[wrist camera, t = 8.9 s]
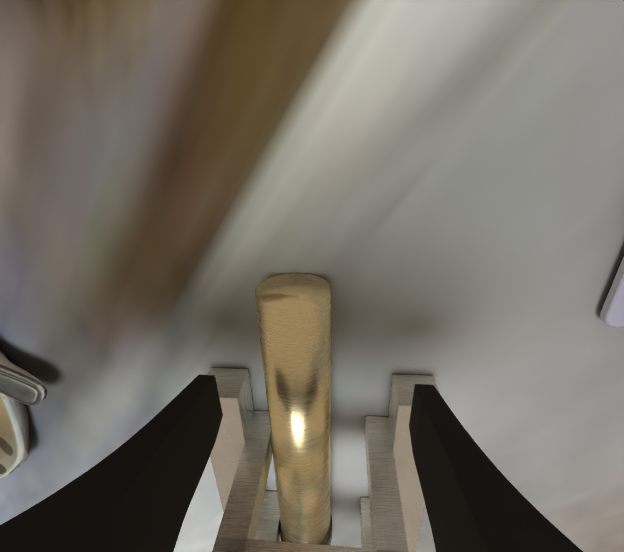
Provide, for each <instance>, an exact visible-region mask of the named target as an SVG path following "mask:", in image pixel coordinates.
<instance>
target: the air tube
mask: <svg viewBox="0 0 624 552" xmlns="http://www.w3.org/2000/svg"><path fill="white" fill-rule="evenodd" d="M256 302H257V311H258V320H259V330H260V339H261V348H262V357H263V366H264V376H265V385H266V394H267V403H268V412H269V421H270V431H271V440H272V449H273V458H274V467H275V477H276V486H277V495H278V504H279V513H280V520H279V529H280V538H281V542H294V543H306V544H319V545H330V543H331V539H332V517H331V513H330V430H331V288H330V285H329V283H328V282H327V281H326V280H324V279H323V278H320V277H318V276H315V275H311V274H305V273H289V274H282V275H277V276H274V277H271V278H269V279H266V280H265V281H263V282H262V283H260V284H259V285H258V287H257V288H256Z"/></svg>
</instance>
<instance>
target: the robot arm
mask: <svg viewBox="0 0 624 552" xmlns="http://www.w3.org/2000/svg"><path fill="white" fill-rule="evenodd" d="M600 318H601V320H602V321H604V322H605V323H606V324H607V325H609V326H612V327H624V257H623V259H622V262H621V264H620V267H619V269H618V271H617V274H616V276H615V279H614V281H613V284H612V286H611V288H610V291H609V293H608V296H607V298H606V301H605V303H604V305H603V308H602V310H601V313H600ZM222 417H223V413H222V408H221V403H220V398H219V393H218V388H217V383H216V378H215V375H198V376H197V377H196V378H195V379H194V380H193V381H192V382H191V383H190V384H189V385H188V386H187V387H186V388H185V389H184V390H183V391H181V392H180V393H179V394H178V395H177V396H176V397H175V398H174V399H173V400H172V401H171V402H170V403H169V404H168V405H167V406H166V407H165V408H164V409H163V410H162V411H160V412H159V413H158V414H157V415H156V416H155V417H154V418H153V419H152V420H151V421H150V422H148V423H147V424H146V425H145V426H144V427H143V428H142V429H140V430H139V431H138V432H137V433H136V434H135V435H133V436H132V437H131V438H130V439H129V440H128V441H126V442H125V443H124V444H123V445H122V446H120V447H119V448H118V449H116V450H115V451H114V452H113V453H111V454H110V455H109V456H107V457H106V458H105V459H103V460H102V461H101V462H99V463H98V464H97V465H95V466H94V467H92V468H91V469H90V470H88V471H87V472H85V473H84V474H82V475H81V476H79V477H78V478H76V479H75V480H73V481H72V482H70V483H69V484H67V485H66V486H64V487H63V488H62V489H60V490H59V491H57V492H55V493H54V494H52V495H51V496H49V497H47V498H46V499H44V500H43V501H41V502H39V503H38V504H36V505H34V506H33V507H31V508H29V509H28V510H26V511H24V512H23V513H21V514H19V515H17V516H16V517H14V518H12V519H10V520H9V521H7V522H5V523H3V524H2V525H0V552H173V551H174V548H175V545H176V541H177V538H178V535H179V532H180V529H181V526H182V523H183V520H184V518H185V515H186V512H187V510H188V507H189V505H190V502H191V500H192V497H193V495H194V493H195V490H196V488H197V486H198V483H199V481H200V478H201V476H202V474H203V471H204V469H205V466H206V464H207V462H208V459H209V457H210V454H211V452H212V449H213V447H214V444H215V442H216V438H217V435H218V432H219V428H220V424H221V421H222ZM409 430H410V438H411V445H412V452H413V457H414V461H415V465H416V469H417V473H418V477H419V481H420V485H421V489H422V493H423V497H424V501H425V505H426V509H427V513H428V517H429V521H430V525H431V529H432V533H433V538H434V543H435V548H436V552H583V551H581V550H580V549H579V548H578V547H577V546H576V545H575V544H574V543H572V542H571V541H570V540H569V539H568V538H567V537H566V536H565V535H564V534H563V533H561V532H560V531H559V530H558V529H557V528H556V527H555V526H554V525H553V524H552V523H550V522H549V521H548V520H547V519H546V518H545V517H544V516H543V515H542V514H541V513H540V512H539V511H538V510H537V509H536V508H535V507H534V506H533V505H532V504H531V503H530V502H529V501H528V500H527V499H526V498H524V496H523V495H522V494H521V493H520V492H519V491H518V490H517V489H516V488H515V487H514V486H513V485H512V484H511V483H510V482H509V481H508V480H507V479H506V478H505V476H504V475H503V474H502V473H501V472H500V471H499V470H498V469H497V468H496V466H495V465H494V464H493V463H492V462H491V461H490V459H489V458H488V457H487V456H486V455H485V454H484V452H483V451H482V450H481V449H480V448H479V446H478V445H477V444H476V443H475V441H474V440H473V439H472V438H471V436H470V435H469V434H468V432H467V431H466V430H465V429H464V427H463V426H462V425H461V423H460V422H459V421H458V419H457V418H456V416H455V415H454V414H453V412H452V411H451V410H450V408H449V407H448V405H447V404H446V402H445V401H444V399H443V398H442V397H441V395H440V394H439V392H438V391H437V389H436V387H435V386H434V385H429V384H415V386H414V393H413V400H412V407H411V414H410V421H409Z"/></svg>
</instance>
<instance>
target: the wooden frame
mask: <svg viewBox="0 0 624 552" xmlns="http://www.w3.org/2000/svg"><path fill="white" fill-rule="evenodd" d="M207 375H215V378H216V383H217V388H218V393H219V398H220V403H221V408H222V413H223V417H222V421H221V424H220V428H219V432H218V435H217V438H216V442H215V444H214V447H213V449H212V452H211V454H210V457H211V461H212V465H213V469H214V474H215V478H216V482H217V486H218V490H219V494H220V499H221V503H222V507H223V511H224V514H223V517H222V521H221V524H220V528H219V531H218V534H217V538H216V541H215V544H214V548H213V551H212V552H415V551H416V546H417V541H418V536H419V532H420V527H421V522H422V517H423V512H424V507H425V501H424V497H423V493H422V489H421V485H420V481H419V477H418V473H417V469H416V465H415V461H414V457H413V452H412V445H411V438H410V430H409V421H410V414H411V407H412V400H413V393H414V386H415V384H429V385H434V386H435V387H436V389H437V391H438V392H439V390H438V387H437V384H436V382H435V379H434V376H427V375H399V374H393V375H392V385H391V395H390V404H389V414H388V417H378V416H366V421H365V447H366V461H367V475H368V490H369V498H365V497H361V503H360V522H361V545H362V548H356V547H344V546H331V545H319V544H306V543H294V542H281V541H280V529H279V520H280V513H279V504H278V495H277V492H276V491H265V487H266V483H267V478H268V473H269V468H270V463H271V458H272V453H273V449H272V440H271V431H270V421H269V412H268V411H254V406H253V399H252V392H251V385H250V378H249V371H248V369H232V368H211V369H210V371H209V373H208V374H207ZM439 394H440V393H439Z"/></svg>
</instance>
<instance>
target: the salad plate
mask: <svg viewBox="0 0 624 552" xmlns="http://www.w3.org/2000/svg"><path fill="white" fill-rule="evenodd" d="M46 395H47V389H46V387H45V386H44V384H43V383H42V382H41V381H40V380H38V379H37V378H36V377H34V376H33V375H31V374H29V373H28V372H27V371H25V370H23V369H21V368H20V367H18V366H16V365H14V364H13V363H11V362H10V361H9V360H8V359H7V358H6V356H5V355H4V354H3V353H2V352H1V350H0V478H2V477H4V476H6V475H7V474H10V473H12V472H13V471H14V469H16V468H17V467H19V466H20V464H21V463H23V462H24V461H25V460H26V459H27V457H28V453H29V418H28V413H27V410H26V407H25V405H24V404H27V405H35V404H38V403H41V402H42V401H43V400H44V399H45V397H46Z"/></svg>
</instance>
